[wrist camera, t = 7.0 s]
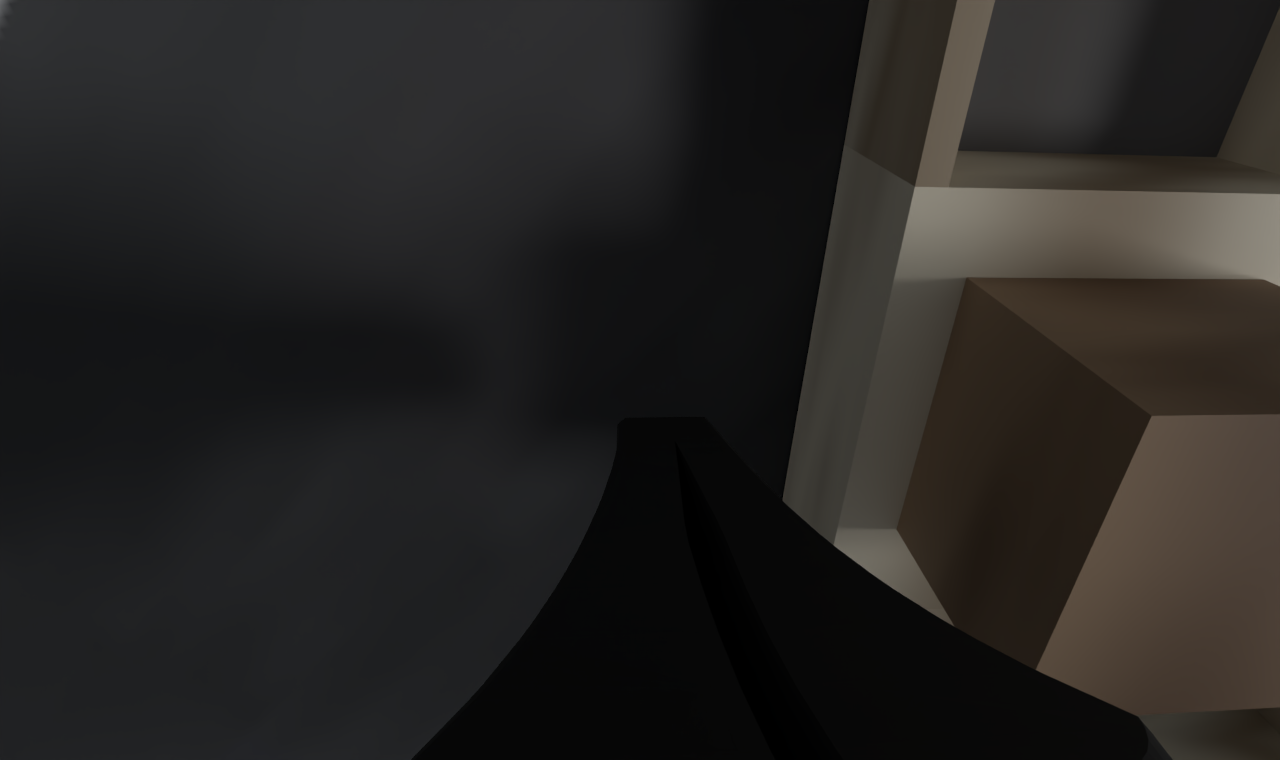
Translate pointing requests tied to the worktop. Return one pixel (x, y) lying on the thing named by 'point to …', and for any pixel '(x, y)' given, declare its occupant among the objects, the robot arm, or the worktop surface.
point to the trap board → (1024, 226)
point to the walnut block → (1111, 486)
